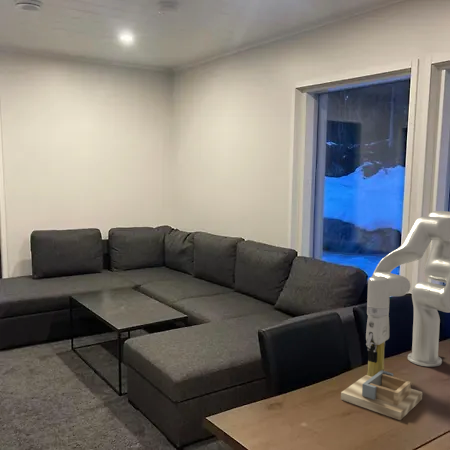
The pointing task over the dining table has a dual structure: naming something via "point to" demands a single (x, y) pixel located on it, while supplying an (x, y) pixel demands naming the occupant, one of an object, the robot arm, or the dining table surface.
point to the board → (385, 396)
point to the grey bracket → (369, 389)
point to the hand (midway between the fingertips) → (376, 358)
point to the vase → (379, 365)
